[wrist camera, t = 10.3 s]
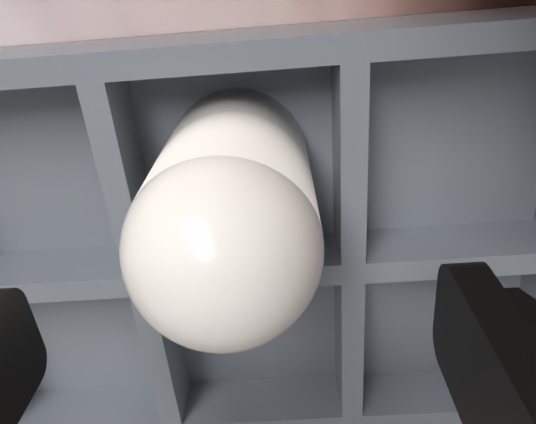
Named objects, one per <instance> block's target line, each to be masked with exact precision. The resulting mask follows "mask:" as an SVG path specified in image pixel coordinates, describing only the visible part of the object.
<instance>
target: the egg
mask: <svg viewBox="0 0 536 424" xmlns="http://www.w3.org/2000/svg"><path fill="white" fill-rule="evenodd" d="M119 259H120V267H121V273H122V278H123V281H124V284H125V287H126V289H127V292H128V294H129V296H130V298H131V300H132V302H133V304H134V306H135V307H136V309H137V310H138V311H139V313H140V314H141V315H142V317H143V318H144V319H145V320H146V321H147V322H148V323H149V325H150V326H152V327H153V328H154V329H155V330H156V331H157V332H159V333H160V334H162V335H163V336H164V337H166V338H168V339H169V340H171V341H173V342H175V343H177V344H179V345H181V346H183V347H186V348H189V349H192V350H195V351H200V352H205V353H214V354H228V353H237V352H241V351H246V350H250V349H253V348H256V347H259V346H261V345H264V344H266V343H268V342H270V341H271V340H273V339H275V338H277V337H278V336H279V335H281V334H282V333H283V332H285V331H286V330H287V329H289V328H290V327H291V326H292V325H293V324H294V323H295V322H296V321H297V320H298V319H299V317H300V316H301V315H302V314H303V312H304V311H305V310H306V308H307V307H308V306H309V304H310V302H311V300H312V298H313V296H314V294H315V292H316V290H317V287H318V284H319V282H320V278H321V274H322V269H323V264H324V239H323V231H322V225H321V220H320V215H319V210H318V204H317V199H316V194H315V189H314V183H313V178H312V173H311V168H310V163H309V157H308V152H307V147H306V142H305V138H304V135H303V132H302V130H301V127H300V125H299V124H298V122H297V120H296V119H295V117H294V116H293V115H292V114H291V112H290V111H289V110H288V109H287V108H286V107H285V106H284V105H282V104H281V103H280V102H278V101H277V100H275V99H274V98H272V97H270V96H268V95H266V94H263V93H261V92H257V91H254V90H249V89H226V90H221V91H217V92H213V93H211V94H209V95H207V96H204V97H203V98H201V99H200V100H198V101H197V102H195V103H194V104H193V105H192V106H190V107H189V109H188V110H187V111H186V112H185V113H184V114H183V116H182V117H181V119H180V120H179V122H178V124H177V125H176V127H175V129H174V131H173V132H172V134H171V136H170V137H169V139H168V141H167V143H166V144H165V146H164V148H163V150H162V151H161V153H160V155H159V156H158V158H157V160H156V162H155V163H154V165H153V167H152V169H151V170H150V172H149V174H148V175H147V177H146V179H145V181H144V182H143V184H142V186H141V188H140V189H139V191H138V193H137V194H136V196H135V198H134V200H133V202H132V204H131V206H130V208H129V210H128V212H127V215H126V217H125V220H124V223H123V227H122V231H121V238H120V246H119Z"/></svg>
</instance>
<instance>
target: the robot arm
mask: <svg viewBox="0 0 536 424" xmlns="http://www.w3.org/2000/svg"><path fill="white" fill-rule="evenodd" d="M433 344H434V350H435V355H436V359H437V362H438V364H439V367H440V370H441V372H442V375H443V377H444V380H445V382H446V385H447V387H448V390H449V392H450V395H451V397H452V400H453V402H454V405H455V407H456V410H457V412H458V415H459V417H460V420H461V422H462V424H536V299H535V298H533V297H532V296H530V295H529V294H527V293H526V292H524V291H523V290H521V289H520V288H518V287H513V288H504V287H503V286H502V284H501V283H500V281H499V280H498V278H497V277H496V276H495V274H494V273H493V271H492V270H491V268H490V267H489V266H488V264H487V263H485V262H465V263H448V264H441V265H440V267H439V270H438V277H437V287H436V298H435V308H434V319H433ZM46 366H47V352H46V347H45V344H44V342H43V339H42V336H41V334H40V331H39V329H38V326H37V323H36V321H35V318H34V316H33V313H32V310H31V308H30V305H29V303H28V300H27V298H26V295H25V294H24V292H23V291H22V290H21V289H19V288H0V424H18V423H19V421H20V419H21V417H22V415H23V414H24V412H25V410H26V408H27V406H28V405H29V403H30V401H31V399H32V398H33V396H34V394H35V392H36V390H37V389H38V387H39V385H40V383H41V382H42V379H43V377H44V375H45V371H46Z"/></svg>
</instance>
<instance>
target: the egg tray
mask: <svg viewBox="0 0 536 424" xmlns="http://www.w3.org/2000/svg"><path fill="white" fill-rule="evenodd" d="M226 89H249V90H254V91H257V92H261V93H263V94H266V95H268V96H270V97H272V98H274V99H275V100H277V101H278V102H280V103H281V104H282V105H284V106H285V107H286V108H287V109H288V110H289V111H290V112H291V114H292V115H293V116H294V117H295V119H296V120H297V122H298V124H299V125H300V127H301V130H302V132H303V135H304V138H305V142H306V147H307V152H308V157H309V163H310V168H311V173H312V178H313V183H314V189H315V194H316V199H317V204H318V210H319V215H320V220H321V225H322V231H323V239H324V264H323V269H322V274H321V278H320V282H319V284H318V287H317V290H316V292H315V294H314V296H313V298H312V300H311V302H310V304H309V306H308V307H307V308H306V310H305V311H304V312H303V314H302V315H301V316H300V317H299V319H298V320H297V321H296V322H295V323H294V324H293V325H292V326H291V327H290V328H289V329H287V330H286V331H285V332H283V333H282V334H281V335H279V336H278V337H277V338H275V339H273V340H271V341H270V342H268V343H266V344H264V345H261V346H259V347H256V348H253V349H250V350H246V351H241V352H237V353H228V354H214V353H205V352H200V351H195V350H192V349H189V348H186V347H183V346H181V345H179V344H177V343H175V342H173V341H171V340H169V339H168V338H166V337H164V336H163V335H162V334H160V333H159V332H157V331H156V330H155V329H154V328H153V327H152V326H150V325H149V323H148V322H147V321H146V320H145V319H144V318H143V317H142V315H141V314H140V313H139V311H138V310H137V309H136V307H135V306H134V304H133V302H132V300H131V298H130V296H129V294H128V292H127V289H126V287H125V284H124V281H123V278H122V273H121V267H120V259H119V246H120V238H121V231H122V227H123V223H124V220H125V217H126V215H127V212H128V210H129V208H130V206H131V204H132V202H133V200H134V198H135V196H136V194H137V193H138V191H139V189H140V188H141V186H142V184H143V182H144V181H145V179H146V177H147V175H148V174H149V172H150V170H151V169H152V167H153V165H154V163H155V162H156V160H157V158H158V156H159V155H160V153H161V151H162V150H163V148H164V146H165V144H166V143H167V141H168V139H169V137H170V136H171V134H172V132H173V131H174V129H175V127H176V125H177V124H178V122H179V120H180V119H181V117H182V116H183V114H184V113H185V112H186V111H187V110H188V109H189V107H190V106H192V105H193V104H194V103H195V102H197V101H198V100H200V99H201V98H203V97H204V96H207V95H209V94H211V93H213V92H217V91H221V90H226ZM465 262H485V263H487V264H488V266H489V267H490V268H491V270H492V271H493V273H494V274H495V276H496V277H497V278H498V280H499V281H500V283H501V284H502V286H503V287H504V288H513V287H518V288H520V289H521V290H523V291H524V292H526V293H527V294H529V295H530V296H532V297H533V298H535V299H536V5H533V6H520V7H507V8H494V9H482V10H469V11H456V12H443V13H431V14H418V15H405V16H392V17H380V18H367V19H354V20H341V21H329V22H316V23H303V24H290V25H278V26H265V27H252V28H239V29H227V30H214V31H201V32H189V33H176V34H163V35H150V36H138V37H125V38H112V39H99V40H87V41H74V42H61V43H48V44H36V45H23V46H10V47H0V288H19V289H21V290H22V291H23V292H24V294H25V295H26V298H27V300H28V303H29V305H30V308H31V310H32V313H33V316H34V318H35V321H36V323H37V326H38V329H39V331H40V334H41V336H42V339H43V342H44V344H45V347H46V352H47V366H46V371H45V375H44V377H43V379H42V382H41V383H40V385H39V387H38V389H37V390H36V392H35V394H34V396H33V398H32V399H31V401H30V403H29V405H28V406H27V408H26V410H25V412H24V414H23V415H22V417H21V419H20V421H19V423H18V424H462V422H461V420H460V417H459V415H458V412H457V410H456V407H455V405H454V402H453V400H452V397H451V395H450V392H449V390H448V387H447V385H446V382H445V380H444V377H443V375H442V372H441V370H440V367H439V364H438V362H437V359H436V355H435V350H434V344H433V319H434V308H435V298H436V287H437V277H438V270H439V267H440V265H441V264H448V263H465Z"/></svg>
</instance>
